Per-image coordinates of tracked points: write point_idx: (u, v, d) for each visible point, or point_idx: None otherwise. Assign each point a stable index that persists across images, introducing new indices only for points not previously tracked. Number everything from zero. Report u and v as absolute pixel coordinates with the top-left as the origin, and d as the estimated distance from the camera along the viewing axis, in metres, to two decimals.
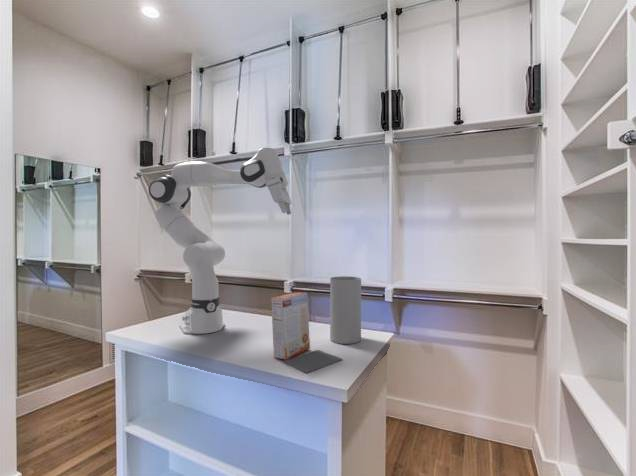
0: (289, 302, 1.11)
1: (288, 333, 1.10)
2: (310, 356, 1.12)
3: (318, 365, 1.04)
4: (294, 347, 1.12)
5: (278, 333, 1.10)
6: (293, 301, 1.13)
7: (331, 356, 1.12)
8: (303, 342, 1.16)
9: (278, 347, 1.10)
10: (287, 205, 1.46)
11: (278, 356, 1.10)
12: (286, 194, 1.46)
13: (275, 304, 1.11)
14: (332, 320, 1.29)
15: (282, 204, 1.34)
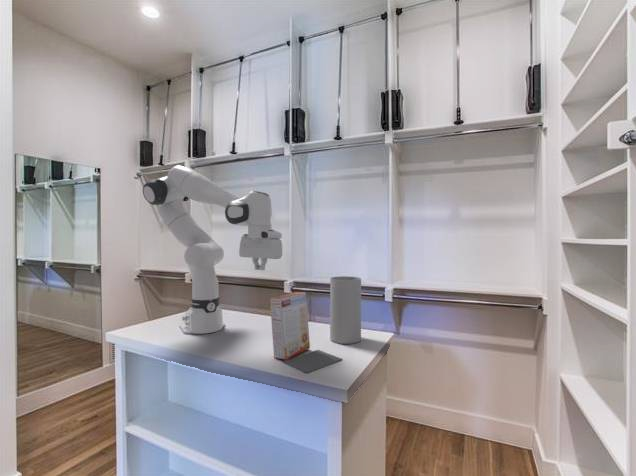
0: (288, 302, 1.12)
1: (288, 333, 1.10)
2: (310, 356, 1.12)
3: (318, 365, 1.04)
4: (294, 347, 1.12)
5: (278, 333, 1.10)
6: (292, 301, 1.13)
7: (331, 356, 1.12)
8: (303, 341, 1.16)
9: (278, 348, 1.10)
10: (257, 258, 1.25)
11: (278, 356, 1.10)
12: None
13: (274, 304, 1.11)
14: (332, 320, 1.29)
15: (265, 261, 1.22)
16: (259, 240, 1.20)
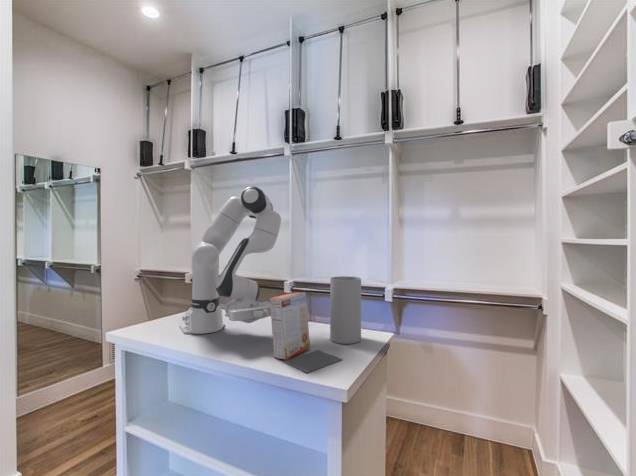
0: (288, 302, 1.12)
1: (288, 333, 1.10)
2: (310, 356, 1.12)
3: (318, 365, 1.04)
4: (294, 347, 1.12)
5: (278, 333, 1.10)
6: (292, 301, 1.13)
7: (331, 356, 1.12)
8: (303, 341, 1.17)
9: (278, 348, 1.10)
10: None
11: (278, 356, 1.10)
12: None
13: (274, 304, 1.11)
14: (332, 320, 1.29)
15: None
16: None
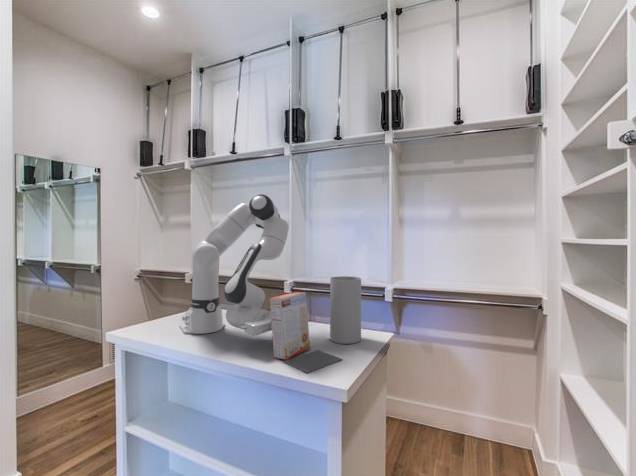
0: (288, 302, 1.12)
1: (288, 333, 1.10)
2: (310, 356, 1.12)
3: (318, 365, 1.04)
4: (294, 347, 1.12)
5: (278, 333, 1.10)
6: (292, 301, 1.13)
7: (331, 356, 1.12)
8: (303, 341, 1.17)
9: (278, 348, 1.10)
10: None
11: (278, 356, 1.10)
12: None
13: (274, 304, 1.11)
14: (332, 320, 1.29)
15: None
16: None
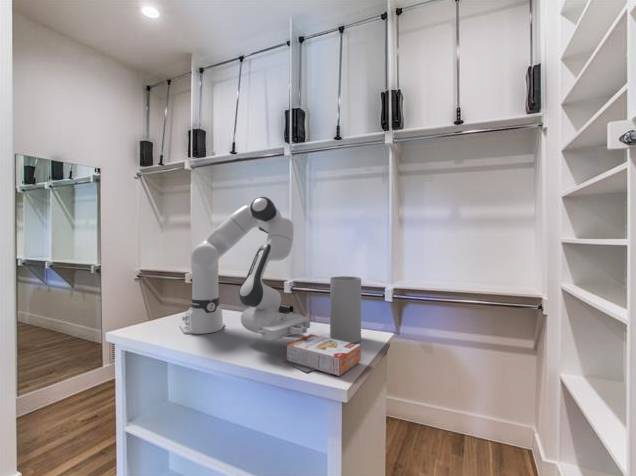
0: None
1: None
2: None
3: None
4: None
5: (307, 358, 1.02)
6: None
7: None
8: None
9: (294, 354, 1.05)
10: None
11: (288, 351, 1.07)
12: None
13: (333, 362, 0.97)
14: (332, 320, 1.29)
15: None
16: None
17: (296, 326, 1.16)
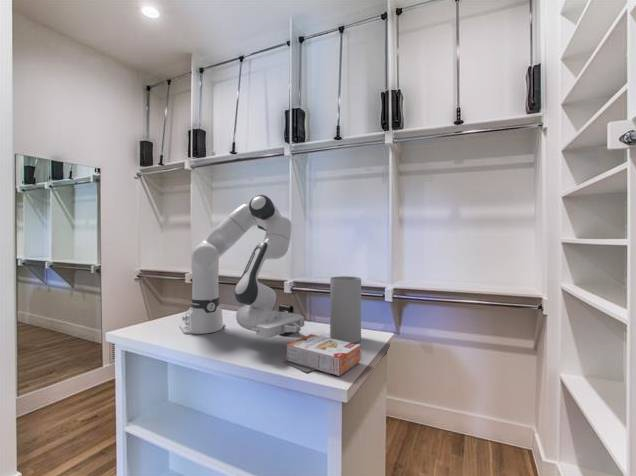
0: None
1: None
2: None
3: None
4: None
5: (307, 358, 1.02)
6: None
7: None
8: None
9: (294, 354, 1.05)
10: None
11: (288, 351, 1.07)
12: None
13: (333, 362, 0.97)
14: (332, 320, 1.29)
15: None
16: None
17: (290, 324, 1.17)
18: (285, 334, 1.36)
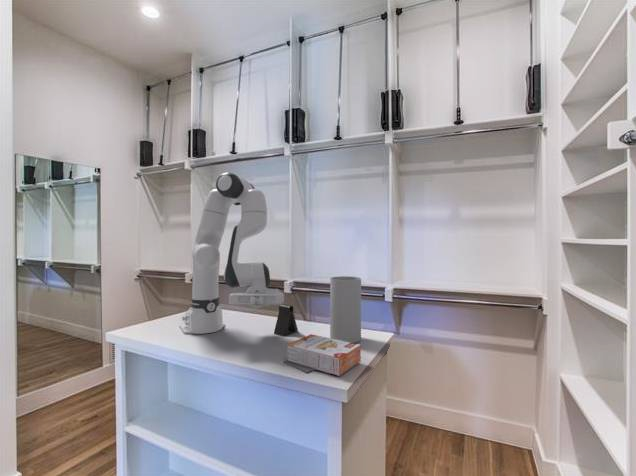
0: None
1: None
2: None
3: None
4: None
5: (307, 358, 1.02)
6: None
7: None
8: None
9: (294, 354, 1.05)
10: None
11: (288, 351, 1.07)
12: None
13: (333, 362, 0.97)
14: (332, 320, 1.29)
15: (263, 301, 1.19)
16: (262, 291, 1.27)
17: (260, 297, 1.20)
18: (285, 334, 1.36)
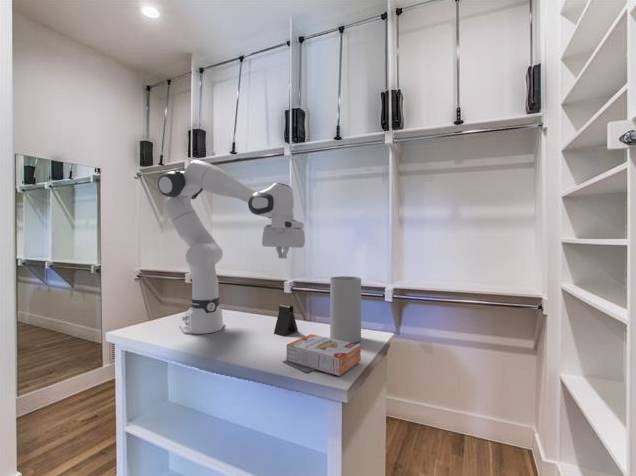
0: None
1: None
2: None
3: None
4: None
5: (307, 358, 1.02)
6: None
7: None
8: None
9: (294, 354, 1.05)
10: (280, 248, 1.31)
11: (288, 351, 1.07)
12: None
13: (333, 362, 0.97)
14: (332, 320, 1.29)
15: (287, 250, 1.29)
16: (282, 230, 1.27)
17: None
18: (285, 334, 1.36)
